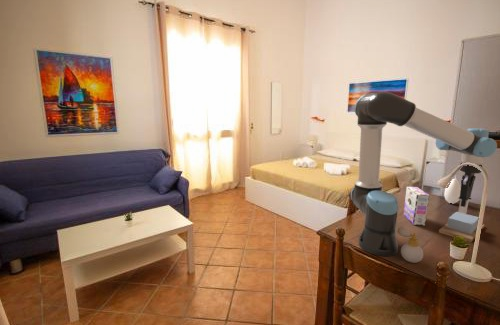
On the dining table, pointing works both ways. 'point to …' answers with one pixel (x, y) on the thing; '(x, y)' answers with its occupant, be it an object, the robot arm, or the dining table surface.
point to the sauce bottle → (453, 191)
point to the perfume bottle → (410, 247)
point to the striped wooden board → (458, 233)
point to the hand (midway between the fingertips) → (462, 212)
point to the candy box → (416, 205)
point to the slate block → (463, 222)
